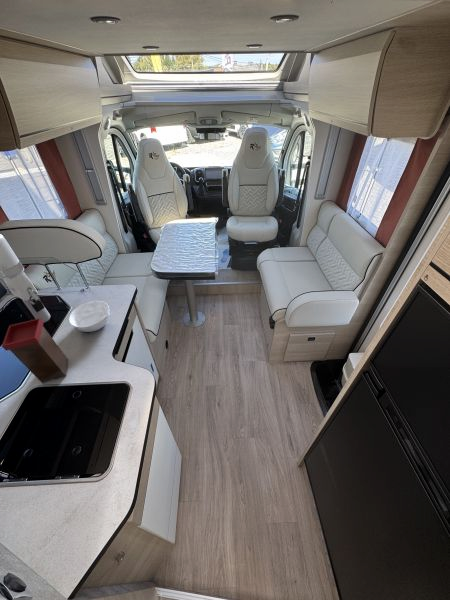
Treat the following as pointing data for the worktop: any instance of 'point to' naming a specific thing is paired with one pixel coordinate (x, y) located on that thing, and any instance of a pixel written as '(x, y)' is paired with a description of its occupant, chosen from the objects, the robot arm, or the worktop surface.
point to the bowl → (90, 316)
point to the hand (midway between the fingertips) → (36, 307)
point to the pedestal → (43, 358)
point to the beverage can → (41, 314)
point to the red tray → (23, 334)
